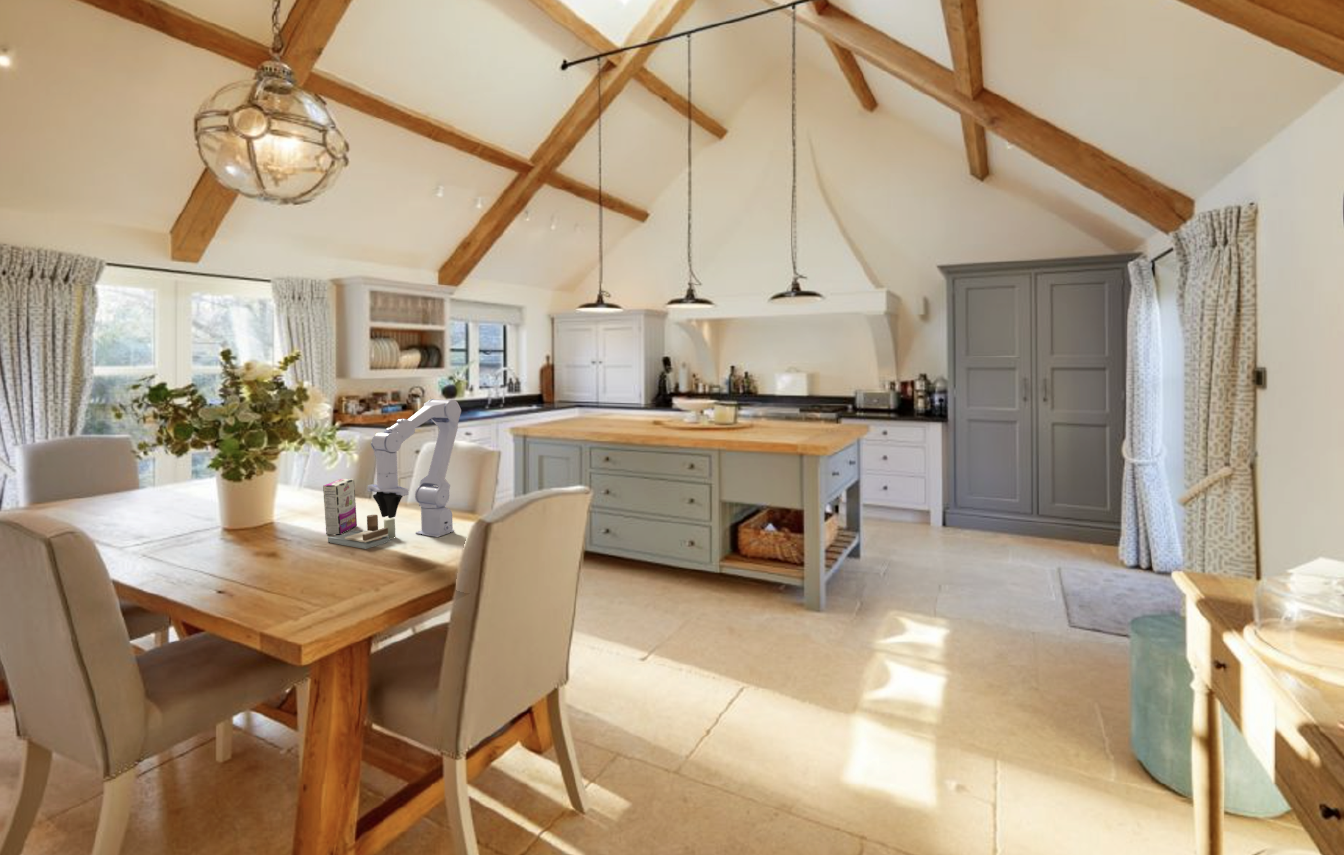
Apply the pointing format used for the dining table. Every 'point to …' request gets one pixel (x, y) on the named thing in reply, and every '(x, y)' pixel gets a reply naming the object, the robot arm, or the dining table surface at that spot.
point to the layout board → (342, 541)
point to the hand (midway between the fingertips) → (388, 516)
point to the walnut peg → (372, 522)
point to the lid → (368, 535)
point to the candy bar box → (340, 506)
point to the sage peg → (390, 526)
